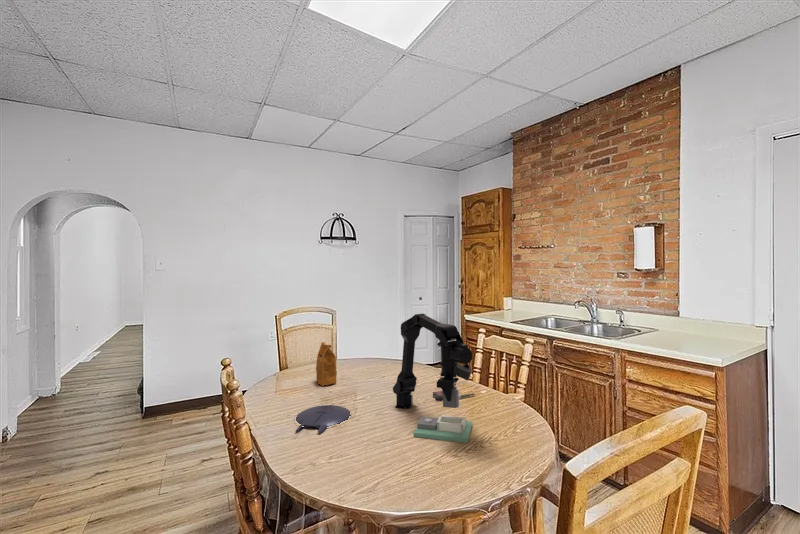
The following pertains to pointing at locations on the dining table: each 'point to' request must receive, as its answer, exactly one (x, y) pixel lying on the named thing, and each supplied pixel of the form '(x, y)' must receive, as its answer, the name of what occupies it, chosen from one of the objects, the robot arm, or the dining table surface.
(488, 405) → the dining table surface
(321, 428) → the toy spaceship
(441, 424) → the board
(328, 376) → the coffee package
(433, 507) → the dining table surface
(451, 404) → the plug
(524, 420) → the dining table surface
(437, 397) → the walkie-talkie
